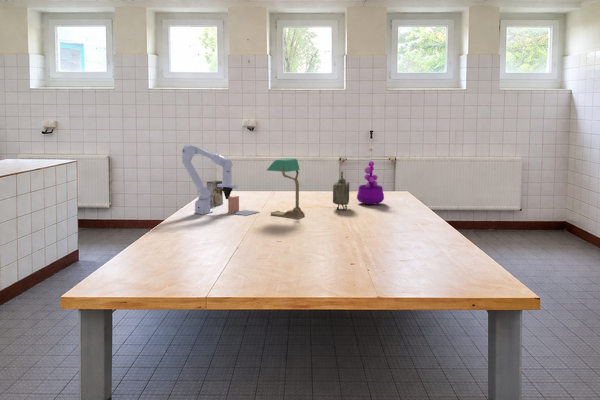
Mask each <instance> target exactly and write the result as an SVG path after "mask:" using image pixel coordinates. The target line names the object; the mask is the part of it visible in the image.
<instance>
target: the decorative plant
mask: <svg viewBox="0 0 600 400" xmlns="http://www.w3.org/2000/svg"><path fill="white" fill-rule="evenodd" d="M374 165H375V162H374V161H373V160H370V161H368V166H367V167H365V168H364V173H365V175H364V176H363V177H364V179H365V180H366V181H367V182H366V183H365V184H361V185H359V186H358V191H357V194H356V200H357V201H358V202H360V203H361V204H364V205H377V204H379V203H382V202H383V201H384V200H385V194H384V190H383V186H382V185H378V181H377V180H378V175H377V174H373V171H374V169H375V167H374Z"/></svg>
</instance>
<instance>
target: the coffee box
mask: <svg viewBox="0 0 600 400" xmlns="http://www.w3.org/2000/svg"><path fill="white" fill-rule="evenodd" d="M217 184H223V180H209V181H206V188H207V189H208V190H209V191H210V193H211V195H210V206H215V207H216V206H219V205H223V204H224V198H223V197H224V195H223V194H224V192H223V190H222V188H223V187H217Z"/></svg>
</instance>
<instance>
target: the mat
mask: <svg viewBox="0 0 600 400" xmlns="http://www.w3.org/2000/svg"><path fill="white" fill-rule="evenodd" d="M259 213H260V211H257V210H246V209H243V210H239V211H238V212H234V213H230V214H231V215H237V216H245V217H246V216H250V215H255V214H259Z"/></svg>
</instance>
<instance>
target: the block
mask: <svg viewBox="0 0 600 400" xmlns="http://www.w3.org/2000/svg"><path fill="white" fill-rule="evenodd" d="M227 202H228V204H227V207H228V208H227V211H228V213H230V214H231V213H234V212H238V211H240V205H239V204H240V196H239V195H231V196H229V197H228V199H227Z"/></svg>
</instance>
